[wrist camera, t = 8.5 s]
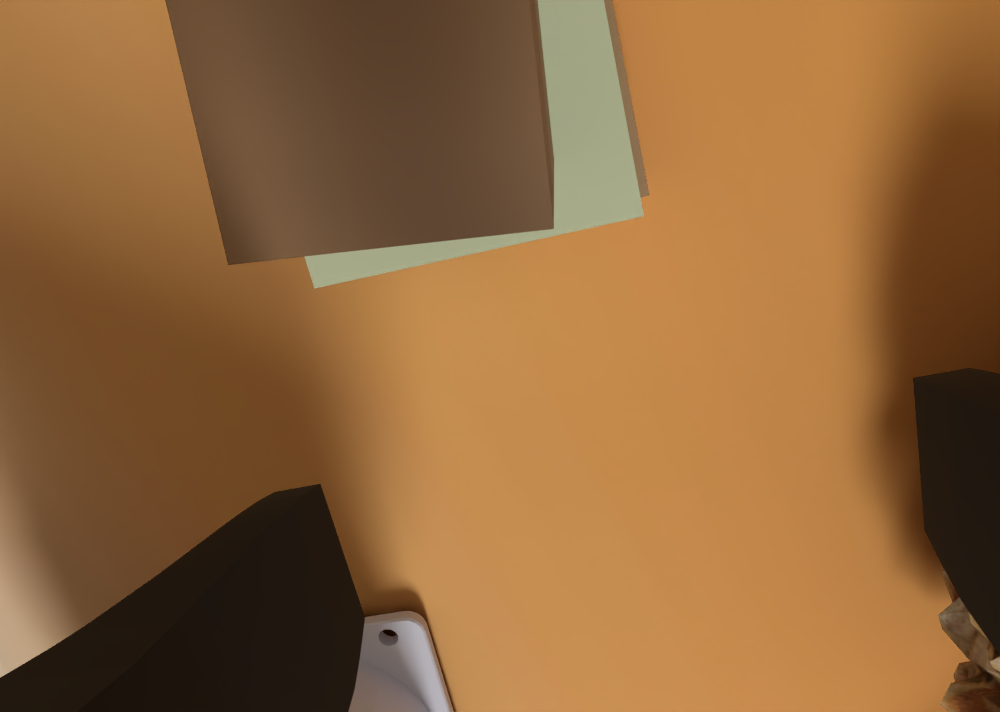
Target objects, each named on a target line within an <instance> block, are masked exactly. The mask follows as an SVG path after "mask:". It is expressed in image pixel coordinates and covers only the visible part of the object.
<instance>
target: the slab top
mask: <svg viewBox="0 0 1000 712" xmlns="http://www.w3.org/2000/svg"><path fill="white" fill-rule="evenodd" d="M538 9H539V19H540V28H541V38H542V48H543V57H544V67H545V76H546V86H547V96H548V105H549V115H550V125H551V134H552V144H553V154H554V229H550V230H540V231H531V232H522V233H513V234H504V235H495V236H486V237H477V238H468V239H459V240H450V241H441V242H432V243H423V244H413V245H404V246H395V247H386V248H377V249H368V250H359V251H350V252H341V253H332V254H323V255H314V256H305V260H306V263H307V267H308V270H309V273H310V276H311V279H312V282H313V285H314V288H319V287H324V286H328V285H333V284H338V283H342V282H347V281H351V280H356V279H360V278H365V277H369V276H374V275H379V274H383V273H388V272H392V271H397V270H401V269H406V268H410V267H415V266H419V265H424V264H429V263H433V262H438V261H442V260H447V259H451V258H456V257H460V256H465V255H469V254H474V253H479V252H483V251H488V250H492V249H497V248H501V247H506V246H510V245H515V244H519V243H524V242H529V241H533V240H538V239H542V238H547V237H551V236H556V235H560V234H565V233H570V232H574V231H579V230H583V229H588V228H592V227H597V226H601V225H606V224H610V223H615V222H620V221H624V220H629V219H633V218H638V217H642V216H644V214H643V209H642V203H641V198H640V192H639V187H638V182H637V176H636V171H635V165H634V160H633V155H632V149H631V144H630V138H629V133H628V128H627V122H626V117H625V111H624V106H623V101H622V95H621V90H620V84H619V79H618V74H617V68H616V63H615V58H614V52H613V47H612V41H611V36H610V31H609V25H608V20H607V14H606V9H605V4H604V0H538Z"/></svg>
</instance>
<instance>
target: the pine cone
mask: <svg viewBox="0 0 1000 712" xmlns="http://www.w3.org/2000/svg"><path fill="white" fill-rule="evenodd" d="M942 575H943V577H944V580H945V583H946V585H947V588H948V591H949V594H950V596H951V599H952V602H953V603H952V604H951V605H950V606H949V607H947V608H946V609H945V610H944V611H943V612H942V613H940V614H939V615H938V616H939V619H940V623H941V626H942V629H943V630H944V632H945V633H946V634H947V635H948V636H949V637H950V638H951V640H952V641H953V642H954V643H955V644H956V645H957V646H958V647H959V649H960V650H961V651H962V652H963V653H964V654H965V655H966V657H967V658H968V659H969V660H970V661H969V662H963V663H959V665H958V667H957V669H956V671H955V673H954V679H955V682H954V683H951V685H950V686H949V688H948V690H947V692H946V694H945V696H944V698H943V700H942V702H941V705H942V706H943V707H945V708H946V709H947V710H948V711H949V712H1000V655H999V654H998V652H997V651H996V649H995V648H994V647H993V645H992V644H991V642H990V641H989V640H988V638H987V637H986V635H985V634H984V633H983V631H982V630H981V628H980V627H979V625H978V624H977V623H976V621H975V620H974V618H973V617H972V615H971V614H970V613H969V611H968V610H967V608H966V607H965V605H964V604H963V602H962V601H961V599H960V598H959V596H958V594H957V592H956V590H955V588H954V586H953V585H952V583H951V581H950V579H949V577H948V575H947V573H946V571H945V570H943V571H942Z"/></svg>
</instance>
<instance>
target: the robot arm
mask: <svg viewBox="0 0 1000 712" xmlns="http://www.w3.org/2000/svg"><path fill="white" fill-rule="evenodd" d="M913 383H914V396H915V409H916V422H917V435H918V448H919V461H920V474H921V488H922V501H923V514H924V527H925V532H926V534H927V536H928V538H929V540H930V542H931V544H932V546H933V548H934V550H935V552H936V554H937V556H938V558H939V560H940V562H941V564H942V566H943V568H944V570H945V571H946V573H947V575H948V577H949V579H950V581H951V583H952V585H953V586H954V588H955V590H956V592H957V594H958V596H959V598H960V599H961V601H962V602H963V604H964V605H965V607H966V608H967V610H968V611H969V613H970V614H971V615H972V617H973V618H974V620H975V621H976V623H977V624H978V625H979V627H980V628H981V630H982V631H983V633H984V634H985V635H986V637H987V638H988V640H989V641H990V642H991V644H992V645H993V647H994V648H995V649H996V651H997V652H998V654H999V655H1000V374H996V373H992V372H988V371H983V370H978V369H971V368H966V369H961V370H955V371H950V372H944V373H938V374H933V375H927V376H922V377H916V378H913ZM385 629H388V630H392V631H394V632H396V634H397V635H395V636H388V635H386V634H384V633H383V630H385ZM0 712H454V711H453V708H452V704H451V701H450V698H449V695H448V691H447V688H446V685H445V682H444V678H443V675H442V672H441V668H440V665H439V662H438V659H437V655H436V652H435V649H434V646H433V642H432V639H431V636H430V632H429V629H428V626H427V623H426V621H425V620H424V618H423V617H422V616H421V615H419V614H418V613H415V612H412V611H400V612H394V613H388V614H381V615H375V616H369V617H364V614H363V611H362V608H361V605H360V602H359V599H358V596H357V593H356V590H355V587H354V584H353V581H352V578H351V575H350V572H349V569H348V566H347V563H346V560H345V557H344V554H343V551H342V548H341V545H340V542H339V539H338V536H337V533H336V529H335V526H334V523H333V520H332V517H331V514H330V511H329V508H328V505H327V502H326V499H325V496H324V493H323V490H322V487H321V484H317V485H312V486H306V487H301V488H295V489H289V490H284V491H278V492H274V493H272V494H270V495H269V496H267V497H265V498H263V499H261V500H260V501H258V502H256V503H255V504H253V505H252V506H250V507H249V508H247V509H246V510H244V511H243V512H242V513H240V514H239V515H237V516H236V517H235V518H233V519H232V520H230V521H229V522H228V523H226V524H225V525H224V526H222V527H221V528H220V529H218V530H217V531H216V532H214V533H213V534H212V535H210V536H209V537H208V538H206V539H205V540H204V541H202V542H201V543H200V544H198V545H197V546H196V547H194V548H193V549H192V550H190V551H189V552H188V553H186V554H185V555H184V556H182V557H181V558H180V559H178V560H177V561H176V562H174V563H173V564H172V565H170V566H169V567H168V568H166V569H165V570H164V571H162V572H161V573H160V574H158V575H157V576H156V577H154V578H153V579H151V580H150V581H148V582H147V583H146V584H144V585H143V586H141V587H140V588H138V589H137V590H136V591H134V592H133V593H131V594H130V595H129V596H127V597H126V598H124V599H123V600H121V601H120V602H119V603H117V604H116V605H114V606H113V607H111V608H110V609H109V610H107V611H106V612H104V613H103V614H102V615H100V616H99V617H97V618H96V619H94V620H93V621H92V622H90V623H89V624H87V625H86V626H84V627H83V628H81V629H80V630H78V631H76V632H75V633H73V634H72V635H70V636H69V637H67V638H66V639H64V640H62V641H61V642H59V643H58V644H56V645H54V646H53V647H51V648H50V649H48V650H46V651H45V652H43V653H41V654H40V655H38V656H36V657H35V658H33V659H31V660H30V661H28V662H26V663H25V664H23V665H21V666H19V667H18V668H16V669H14V670H13V671H11V672H9V673H8V674H6V675H4V676H3V677H1V678H0Z"/></svg>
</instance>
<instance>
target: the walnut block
mask: <svg viewBox="0 0 1000 712" xmlns="http://www.w3.org/2000/svg"><path fill="white" fill-rule="evenodd" d="M165 1H166V5H167V9H168V13H169V18H170V22H171V26H172V30H173V34H174V39H175V43H176V47H177V51H178V55H179V60H180V64H181V68H182V72H183V76H184V81H185V85H186V89H187V93H188V97H189V102H190V106H191V110H192V114H193V118H194V123H195V127H196V131H197V135H198V139H199V144H200V148H201V152H202V156H203V160H204V165H205V169H206V173H207V177H208V181H209V186H210V190H211V194H212V198H213V202H214V207H215V211H216V215H217V219H218V223H219V228H220V232H221V236H222V240H223V244H224V249H225V253H226V257H227V261H228V265H232V264H241V263H250V262H259V261H268V260H277V259H287V258H296V257H305V256H314V255H323V254H332V253H341V252H350V251H359V250H368V249H377V248H386V247H395V246H404V245H413V244H423V243H432V242H441V241H450V240H459V239H468V238H477V237H486V236H495V235H504V234H513V233H522V232H531V231H540V230H550V229H554V154H553V144H552V134H551V125H550V115H549V105H548V96H547V86H546V76H545V67H544V57H543V48H542V38H541V28H540V19H539V9H538V0H165Z"/></svg>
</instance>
